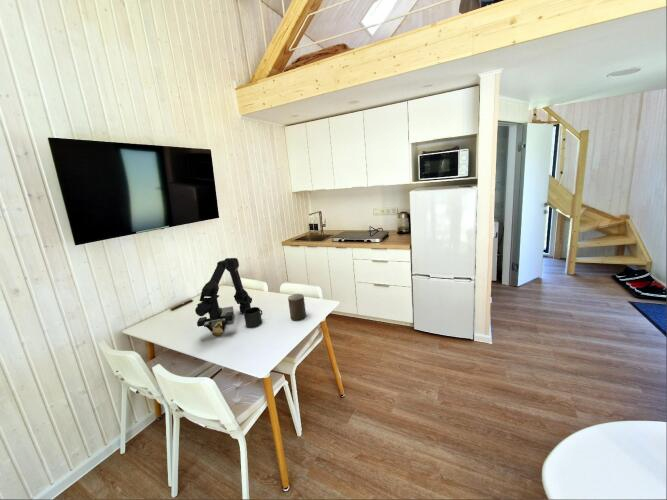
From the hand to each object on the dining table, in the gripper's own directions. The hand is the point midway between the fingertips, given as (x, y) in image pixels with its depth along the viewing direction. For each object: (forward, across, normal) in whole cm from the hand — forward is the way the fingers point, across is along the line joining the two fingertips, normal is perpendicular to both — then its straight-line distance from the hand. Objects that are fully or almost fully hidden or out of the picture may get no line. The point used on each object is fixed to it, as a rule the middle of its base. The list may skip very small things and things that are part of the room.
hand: (218, 332), depth 155 cm
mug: (+2, -20, -7) cm, 21 cm away
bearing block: (+2, 0, -17) cm, 17 cm away
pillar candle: (+2, -46, -4) cm, 46 cm away
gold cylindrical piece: (+1, 0, -5) cm, 5 cm away
